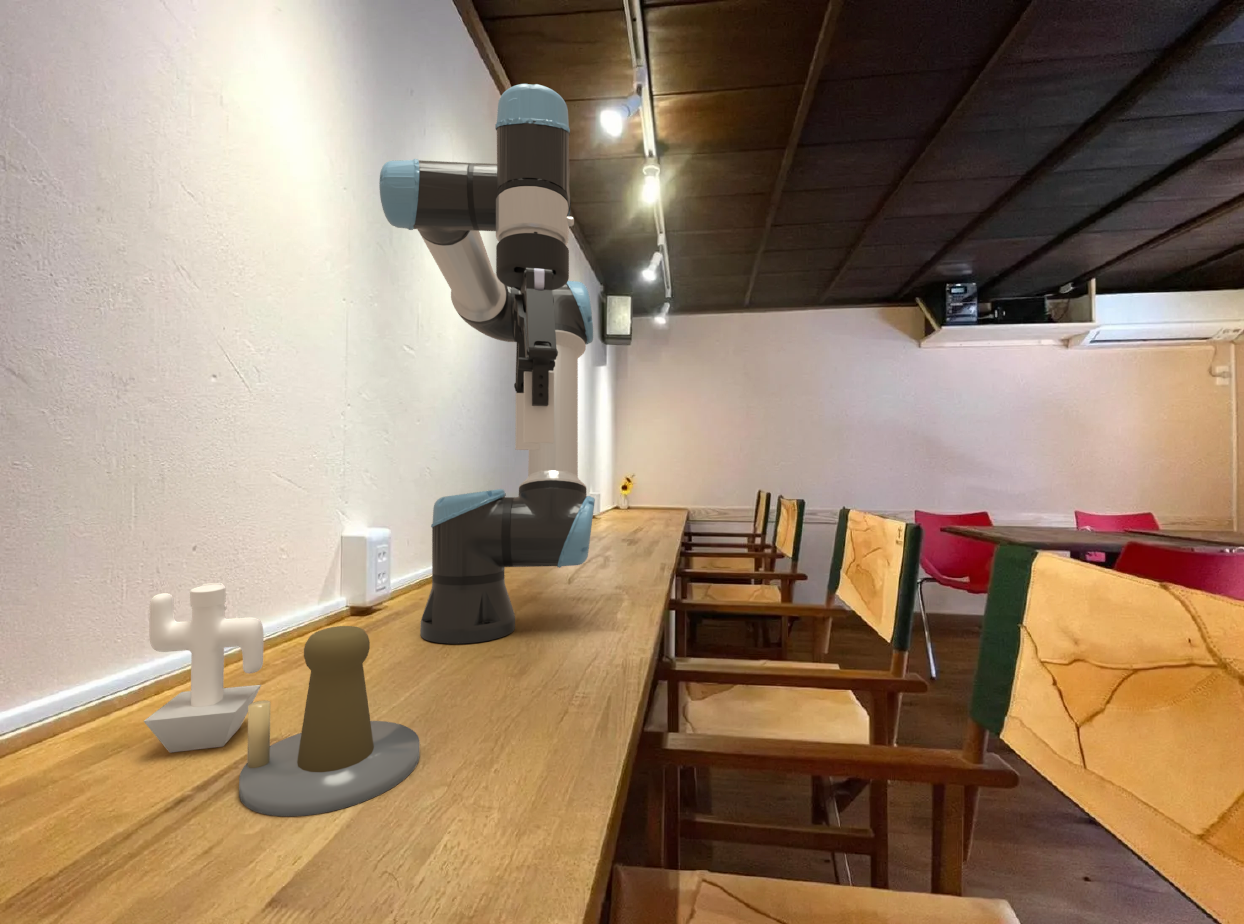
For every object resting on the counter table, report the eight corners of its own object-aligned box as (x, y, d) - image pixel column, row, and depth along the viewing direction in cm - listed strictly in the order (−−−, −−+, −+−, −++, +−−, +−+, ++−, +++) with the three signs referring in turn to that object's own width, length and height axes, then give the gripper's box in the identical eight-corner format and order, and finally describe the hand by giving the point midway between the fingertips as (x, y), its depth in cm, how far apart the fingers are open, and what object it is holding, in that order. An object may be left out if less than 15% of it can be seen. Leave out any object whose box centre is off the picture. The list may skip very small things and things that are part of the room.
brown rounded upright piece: (343, 775, 46) (344, 640, 47) (279, 768, 48) (281, 636, 48) (387, 741, 52) (388, 621, 53) (330, 735, 54) (331, 618, 54)
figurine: (248, 749, 53) (250, 589, 54) (128, 763, 51) (131, 595, 51) (272, 718, 60) (274, 576, 61) (168, 729, 58) (170, 581, 58)
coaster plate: (312, 729, 58) (313, 668, 58) (444, 736, 56) (445, 672, 56) (194, 810, 44) (195, 728, 44) (366, 822, 42) (366, 737, 42)
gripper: (590, 190, 48) (590, 439, 48) (554, 286, 72) (554, 452, 72) (499, 179, 46) (498, 438, 46) (494, 281, 71) (493, 451, 70)
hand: (532, 447), depth 59 cm, fingers open, 13 cm apart
